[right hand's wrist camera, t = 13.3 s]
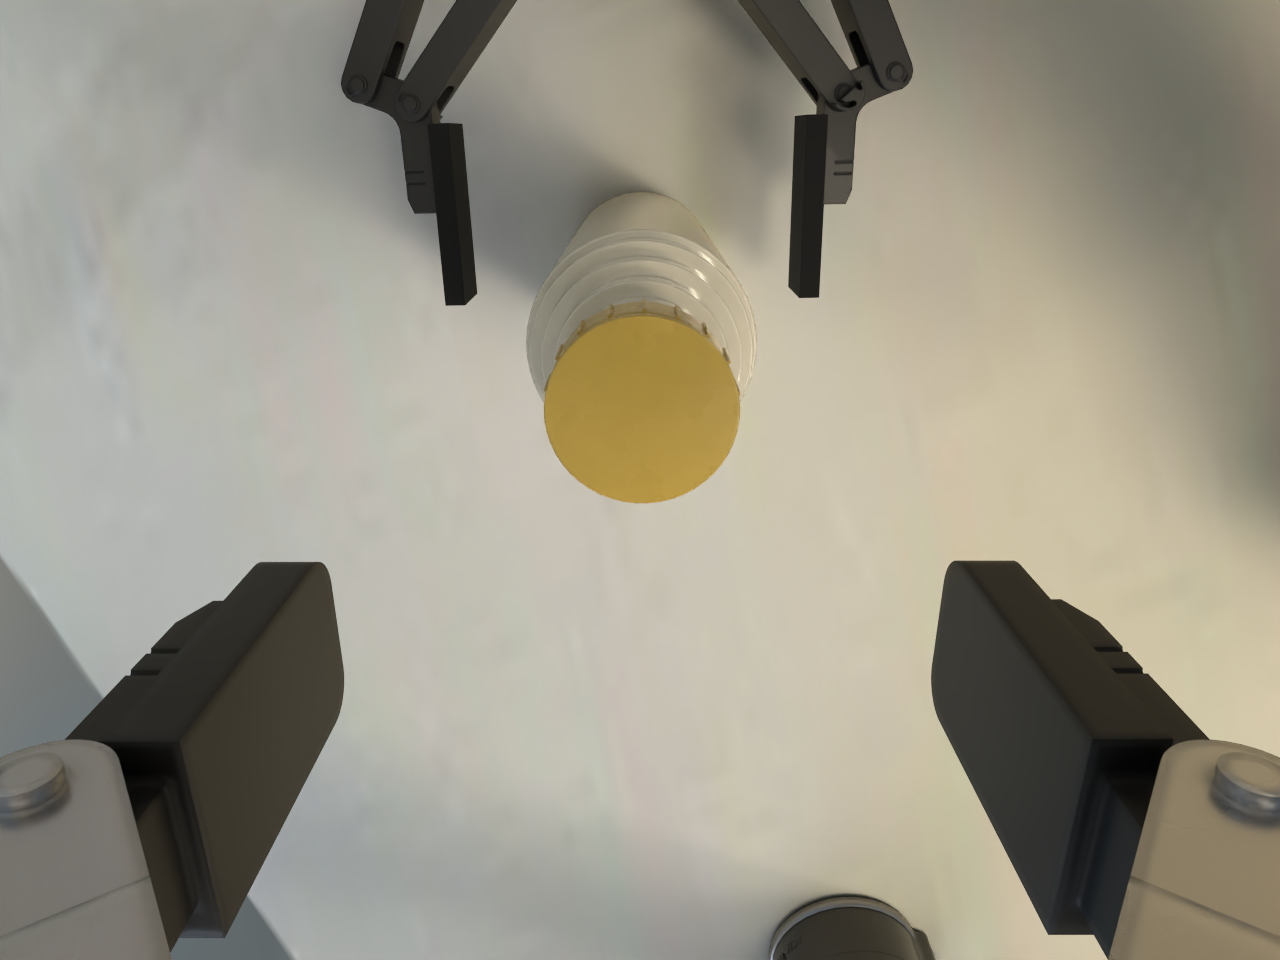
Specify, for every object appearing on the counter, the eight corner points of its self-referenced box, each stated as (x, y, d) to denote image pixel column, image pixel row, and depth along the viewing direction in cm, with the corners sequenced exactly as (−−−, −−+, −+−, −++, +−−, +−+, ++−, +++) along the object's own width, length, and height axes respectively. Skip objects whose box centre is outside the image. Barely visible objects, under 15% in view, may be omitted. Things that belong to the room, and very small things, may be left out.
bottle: (597, 356, 43) (555, 575, 22) (548, 220, 41) (447, 316, 19) (730, 311, 42) (822, 494, 21) (687, 170, 40) (742, 213, 19)
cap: (587, 500, 22) (583, 529, 21) (522, 333, 21) (511, 351, 19) (755, 447, 22) (765, 472, 20) (701, 272, 20) (706, 284, 19)
